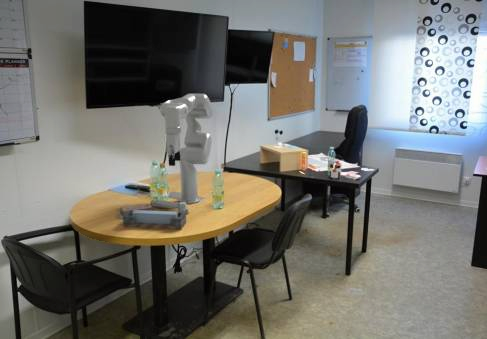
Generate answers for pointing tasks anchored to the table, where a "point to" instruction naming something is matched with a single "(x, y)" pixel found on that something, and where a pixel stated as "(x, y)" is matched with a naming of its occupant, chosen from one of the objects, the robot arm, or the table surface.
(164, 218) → the slat
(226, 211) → the table surface
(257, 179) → the table surface
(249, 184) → the table surface
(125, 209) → the grey brown block
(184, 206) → the grey long bar
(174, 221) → the cradle
